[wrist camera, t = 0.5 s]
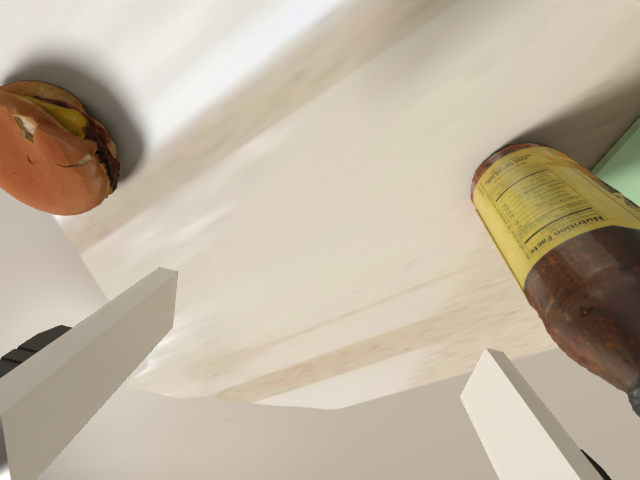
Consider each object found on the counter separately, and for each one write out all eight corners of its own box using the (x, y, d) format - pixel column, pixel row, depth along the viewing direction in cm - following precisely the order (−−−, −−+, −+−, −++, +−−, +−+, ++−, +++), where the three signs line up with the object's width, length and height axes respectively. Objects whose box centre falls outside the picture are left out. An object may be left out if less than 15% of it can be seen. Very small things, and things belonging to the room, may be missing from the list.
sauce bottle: (559, 197, 23) (986, 614, 7) (472, 222, 25) (662, 585, 9) (559, 116, 19) (1393, 604, 4) (457, 154, 21) (725, 560, 6)
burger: (24, 175, 26) (-29, 204, 22) (-24, 58, 20) (-105, 72, 17) (138, 207, 27) (106, 239, 24) (125, 105, 21) (79, 127, 18)
